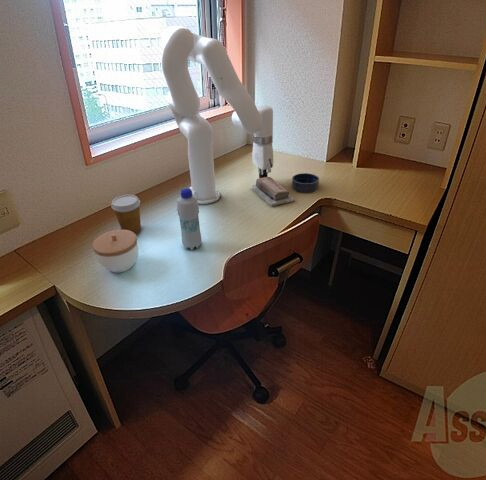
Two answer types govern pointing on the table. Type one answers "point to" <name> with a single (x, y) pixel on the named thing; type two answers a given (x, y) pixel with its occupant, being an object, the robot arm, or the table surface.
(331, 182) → the table surface
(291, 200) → the butter dish
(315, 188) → the dark blue bowl
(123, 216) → the disposable coffee cup
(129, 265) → the lidded bowl
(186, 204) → the bottle
